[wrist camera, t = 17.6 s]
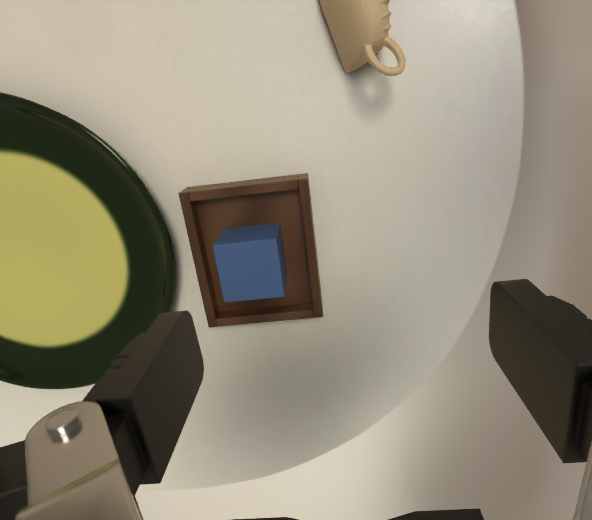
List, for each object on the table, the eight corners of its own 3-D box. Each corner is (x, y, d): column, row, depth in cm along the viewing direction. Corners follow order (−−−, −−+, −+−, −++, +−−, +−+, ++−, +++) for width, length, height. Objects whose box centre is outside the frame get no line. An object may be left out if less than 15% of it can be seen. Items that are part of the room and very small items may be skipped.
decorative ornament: (365, -47, 30) (376, -77, 25) (399, 72, 32) (415, 67, 27) (312, -22, 30) (312, -46, 25) (350, 93, 33) (357, 91, 28)
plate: (99, 41, 32) (82, 37, 30) (225, 339, 42) (220, 353, 39) (-188, 149, 36) (-223, 153, 34) (-13, 400, 45) (-30, 416, 43)
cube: (280, 222, 36) (276, 238, 32) (287, 275, 38) (284, 297, 34) (223, 228, 36) (212, 245, 32) (233, 280, 38) (224, 302, 34)
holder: (307, 173, 35) (307, 178, 33) (322, 304, 40) (323, 317, 37) (187, 187, 36) (178, 193, 34) (214, 314, 41) (208, 327, 38)
